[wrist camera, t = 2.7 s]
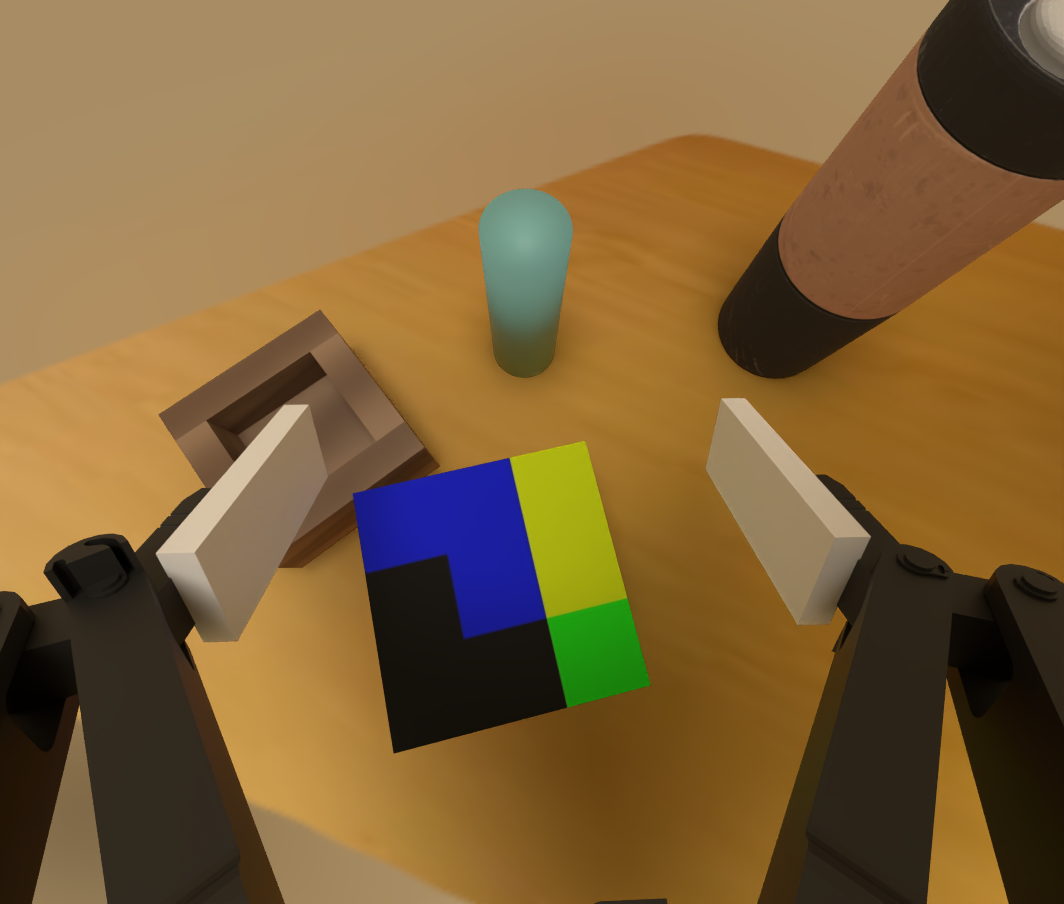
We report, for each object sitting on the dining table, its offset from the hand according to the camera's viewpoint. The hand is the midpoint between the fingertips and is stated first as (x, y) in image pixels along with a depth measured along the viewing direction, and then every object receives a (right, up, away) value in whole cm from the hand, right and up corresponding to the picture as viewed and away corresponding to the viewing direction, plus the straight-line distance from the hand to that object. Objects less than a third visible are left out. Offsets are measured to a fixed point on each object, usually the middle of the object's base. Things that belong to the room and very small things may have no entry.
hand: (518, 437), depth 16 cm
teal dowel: (0, +6, +17) cm, 18 cm away
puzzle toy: (-1, -8, +14) cm, 16 cm away
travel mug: (+17, +8, +18) cm, 25 cm away
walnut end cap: (-12, 0, +15) cm, 19 cm away
